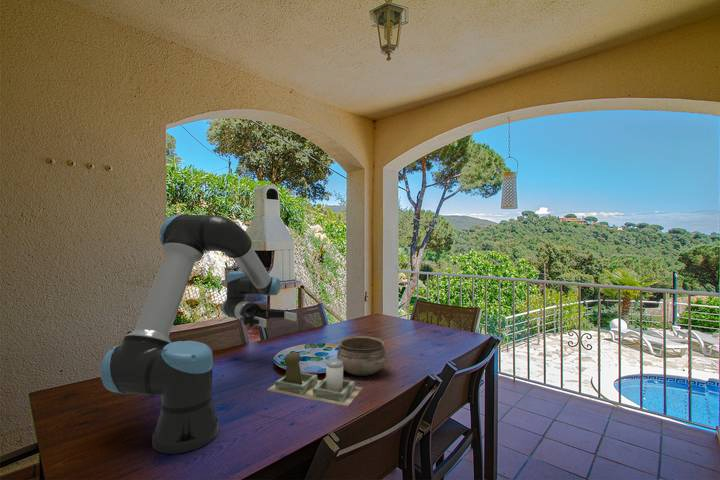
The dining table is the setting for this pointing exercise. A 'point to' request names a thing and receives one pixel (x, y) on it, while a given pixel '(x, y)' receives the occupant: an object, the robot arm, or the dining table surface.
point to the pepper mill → (293, 368)
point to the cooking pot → (362, 355)
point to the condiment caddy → (317, 390)
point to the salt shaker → (334, 375)
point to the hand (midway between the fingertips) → (281, 320)
